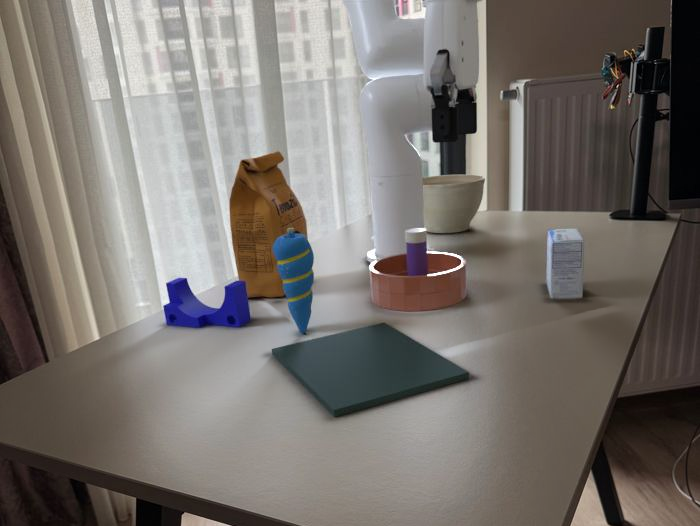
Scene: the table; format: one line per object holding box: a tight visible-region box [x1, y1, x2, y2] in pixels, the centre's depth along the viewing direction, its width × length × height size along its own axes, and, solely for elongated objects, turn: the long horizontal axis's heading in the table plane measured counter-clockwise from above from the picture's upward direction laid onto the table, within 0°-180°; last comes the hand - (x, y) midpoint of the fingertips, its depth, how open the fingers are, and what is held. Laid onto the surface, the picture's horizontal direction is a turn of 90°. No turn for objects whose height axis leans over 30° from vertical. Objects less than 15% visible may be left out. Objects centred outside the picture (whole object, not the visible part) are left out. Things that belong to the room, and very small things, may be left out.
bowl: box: [368, 251, 468, 312], centre depth 97 cm, size 14×14×6 cm
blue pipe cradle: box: [162, 277, 252, 329], centre depth 95 cm, size 12×4×6 cm, turn 65°
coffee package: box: [229, 150, 309, 299], centre depth 104 cm, size 10×12×22 cm
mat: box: [271, 322, 470, 418], centre depth 76 cm, size 20×16×1 cm
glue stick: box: [405, 228, 428, 276], centre depth 96 cm, size 3×3×10 cm
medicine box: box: [545, 228, 585, 299], centre depth 93 cm, size 8×4×9 cm, turn 168°
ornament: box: [273, 224, 315, 335], centre depth 85 cm, size 5×5×15 cm
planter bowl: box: [423, 174, 486, 234], centre depth 140 cm, size 16×16×11 cm
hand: (455, 137), depth 85 cm, fingers open, 9 cm apart
